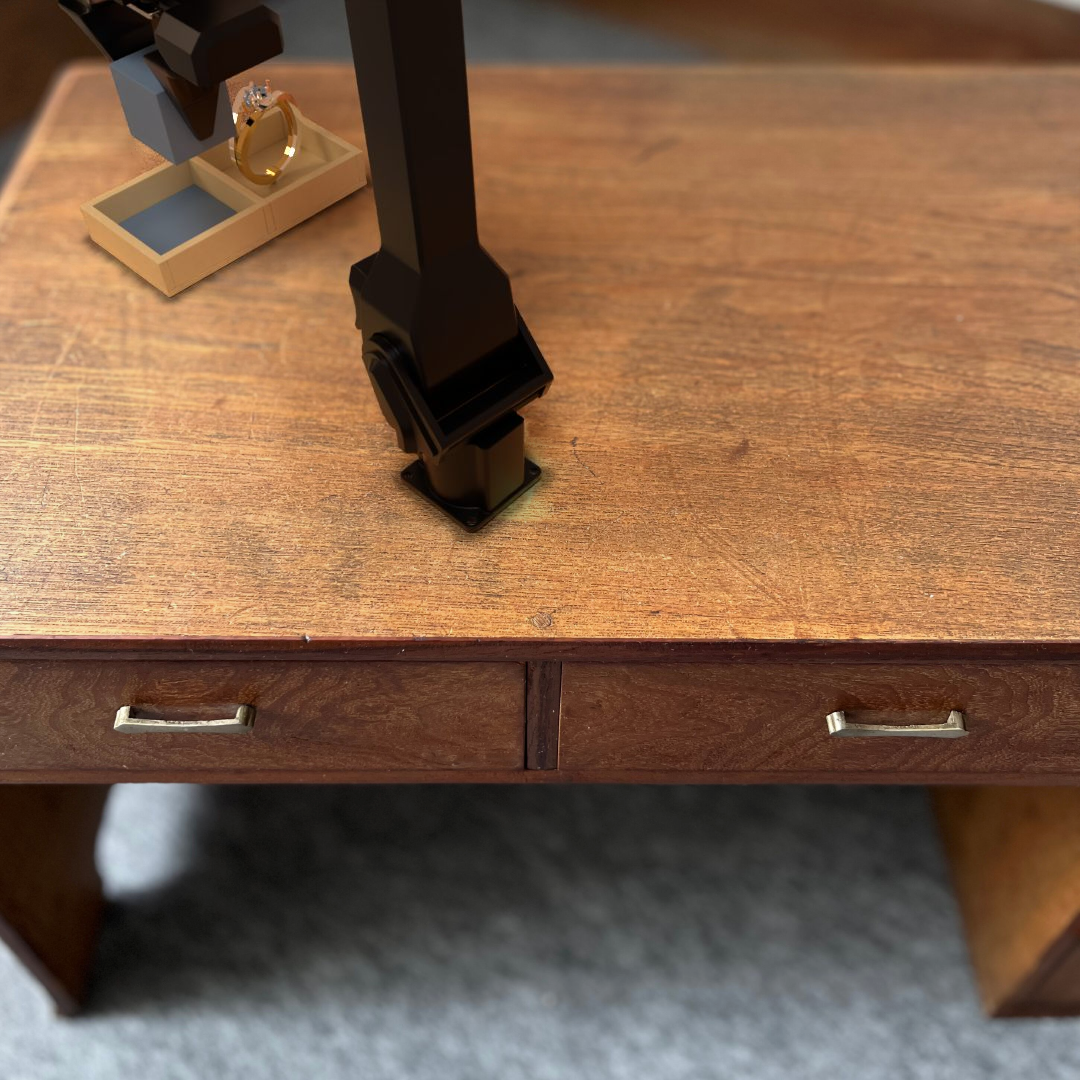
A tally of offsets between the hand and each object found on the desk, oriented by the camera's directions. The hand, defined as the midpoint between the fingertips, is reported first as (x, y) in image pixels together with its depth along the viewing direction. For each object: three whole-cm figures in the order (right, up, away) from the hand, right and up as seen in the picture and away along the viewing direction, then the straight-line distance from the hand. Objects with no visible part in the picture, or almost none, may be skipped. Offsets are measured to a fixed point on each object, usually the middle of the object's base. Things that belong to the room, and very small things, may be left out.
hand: (180, 121), depth 70 cm
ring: (+3, +1, +15) cm, 15 cm away
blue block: (0, -1, +1) cm, 1 cm away
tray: (0, -2, +13) cm, 13 cm away
